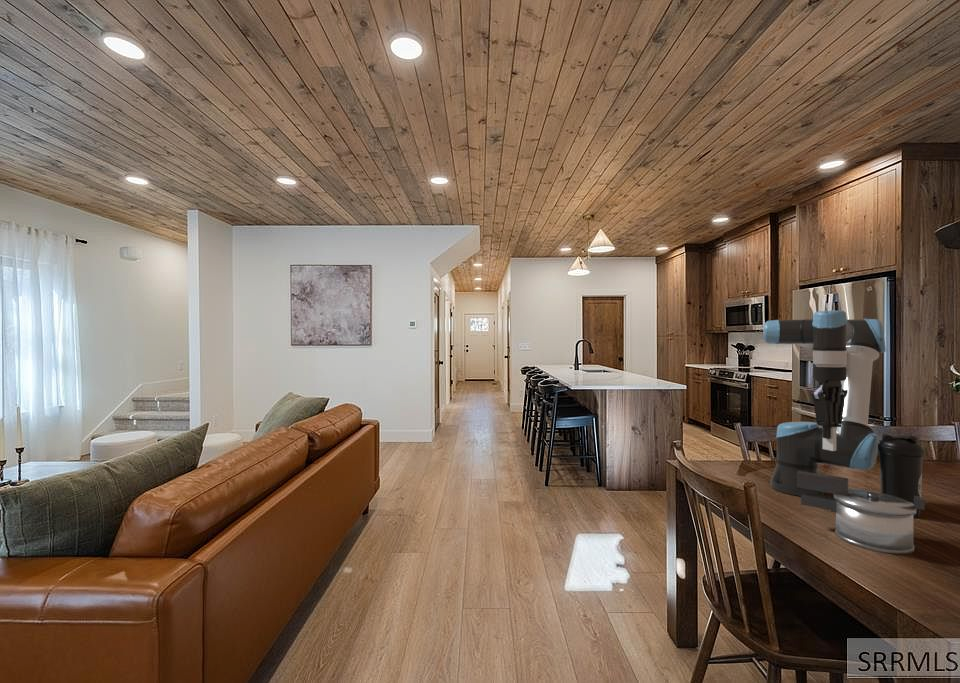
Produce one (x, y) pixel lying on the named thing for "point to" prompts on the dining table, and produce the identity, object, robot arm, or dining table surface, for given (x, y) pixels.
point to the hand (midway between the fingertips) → (829, 449)
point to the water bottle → (901, 467)
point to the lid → (859, 495)
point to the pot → (867, 526)
